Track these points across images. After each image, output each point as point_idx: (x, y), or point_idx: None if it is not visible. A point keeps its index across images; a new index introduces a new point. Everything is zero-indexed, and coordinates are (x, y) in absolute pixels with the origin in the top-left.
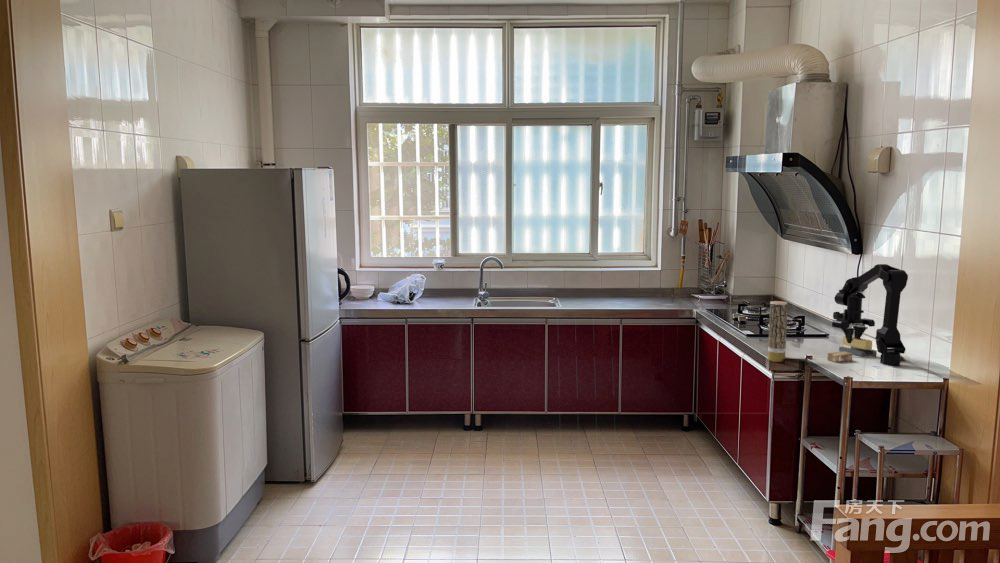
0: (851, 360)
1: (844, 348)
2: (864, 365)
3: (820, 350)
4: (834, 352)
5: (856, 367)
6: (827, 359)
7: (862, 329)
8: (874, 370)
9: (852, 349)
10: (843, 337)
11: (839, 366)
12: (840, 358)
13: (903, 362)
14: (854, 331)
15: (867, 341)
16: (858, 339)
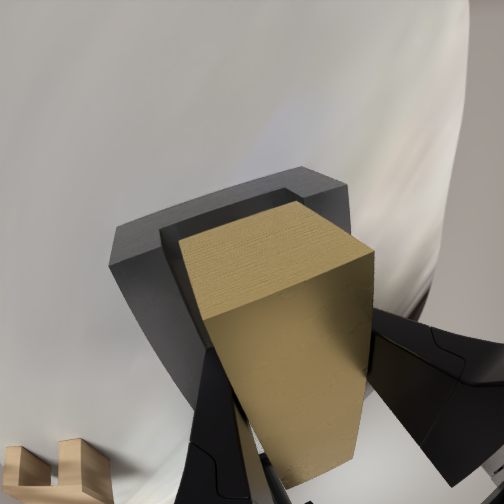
0: (107, 477)
1: (144, 329)
2: (161, 465)
3: (42, 17)
4: (29, 492)
5: (115, 482)
6: (4, 465)
7: (440, 473)
8: (166, 496)
9: (195, 387)
10: (200, 307)
11: (52, 472)
12: (59, 462)
13: (370, 388)
14: (444, 376)
15: (303, 479)
16: (282, 462)
